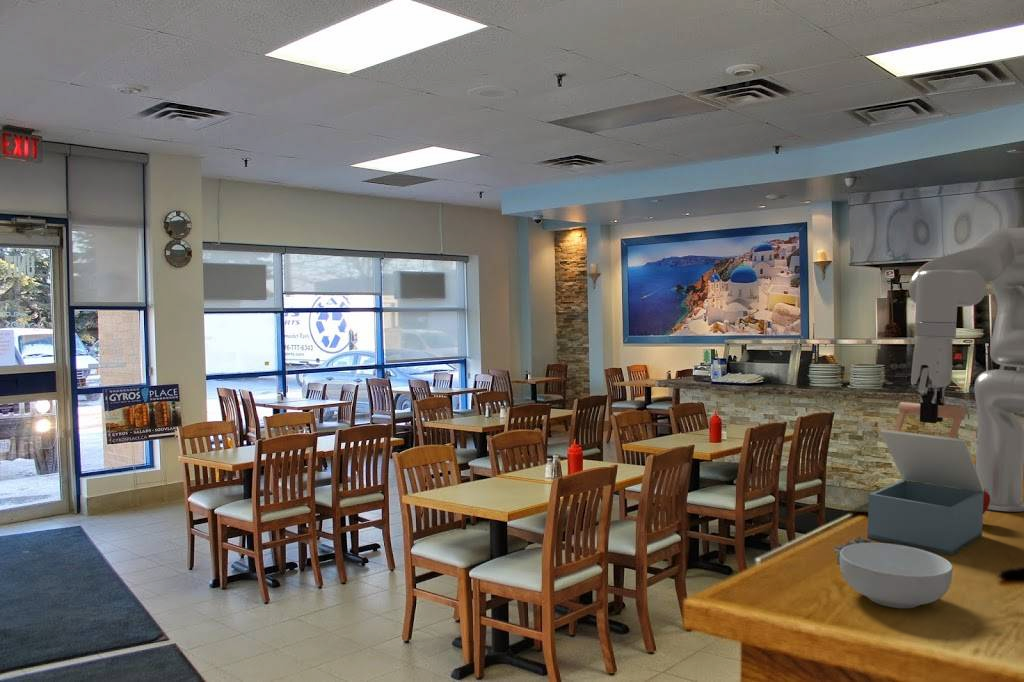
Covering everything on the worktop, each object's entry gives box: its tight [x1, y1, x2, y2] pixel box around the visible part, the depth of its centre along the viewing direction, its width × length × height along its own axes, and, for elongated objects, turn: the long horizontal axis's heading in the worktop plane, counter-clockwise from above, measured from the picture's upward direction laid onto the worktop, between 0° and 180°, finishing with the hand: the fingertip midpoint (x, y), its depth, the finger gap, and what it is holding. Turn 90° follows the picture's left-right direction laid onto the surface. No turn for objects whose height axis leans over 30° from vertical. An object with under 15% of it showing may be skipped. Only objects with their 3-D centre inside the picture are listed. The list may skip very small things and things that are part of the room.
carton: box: [867, 479, 984, 556], centre depth 175 cm, size 18×16×9 cm
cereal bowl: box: [839, 542, 954, 609], centre depth 140 cm, size 17×17×7 cm
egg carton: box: [834, 535, 878, 566], centre depth 159 cm, size 11×8×4 cm
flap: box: [879, 401, 984, 492], centre depth 177 cm, size 18×16×8 cm
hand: (931, 421), depth 174 cm, fingers closed on flap, 2 cm apart
